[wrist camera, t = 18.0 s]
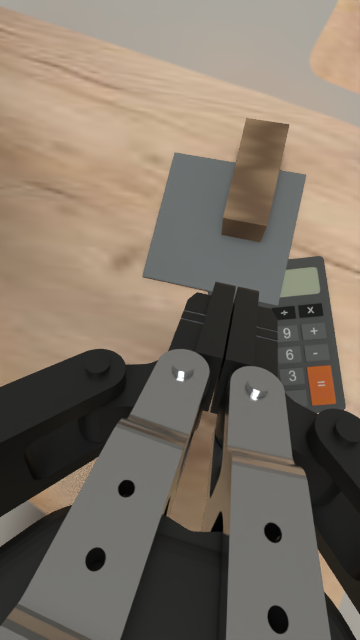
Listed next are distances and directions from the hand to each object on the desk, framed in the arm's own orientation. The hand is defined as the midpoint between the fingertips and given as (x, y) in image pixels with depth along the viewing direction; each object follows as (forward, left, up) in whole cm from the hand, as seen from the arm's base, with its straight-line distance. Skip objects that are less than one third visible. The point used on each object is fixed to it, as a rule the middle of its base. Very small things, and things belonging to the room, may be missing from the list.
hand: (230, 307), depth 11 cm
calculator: (+5, +2, -22) cm, 23 cm away
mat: (-2, +12, -21) cm, 24 cm away
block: (0, +11, -19) cm, 22 cm away
